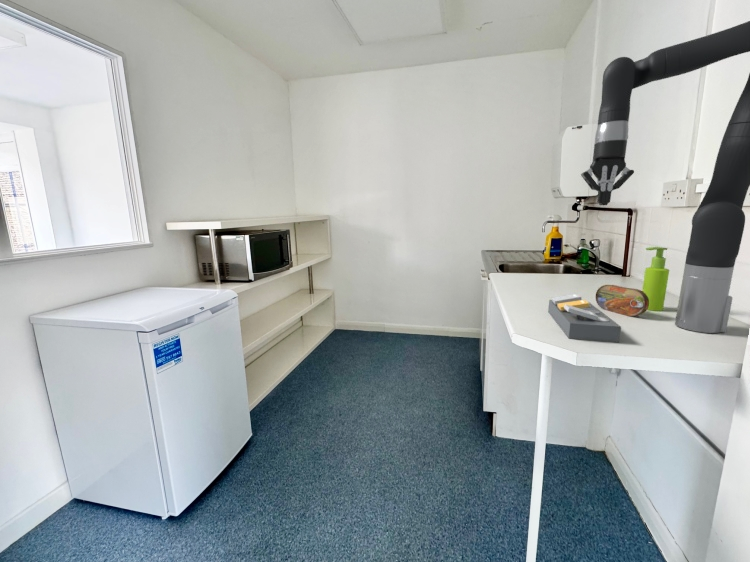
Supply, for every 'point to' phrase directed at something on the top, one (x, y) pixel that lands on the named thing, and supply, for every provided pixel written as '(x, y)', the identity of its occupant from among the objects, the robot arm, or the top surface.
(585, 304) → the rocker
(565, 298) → the rocker
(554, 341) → the top surface
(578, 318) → the rocker switch panel
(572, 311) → the rocker
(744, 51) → the robot arm
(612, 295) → the tin
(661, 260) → the soap dispenser
